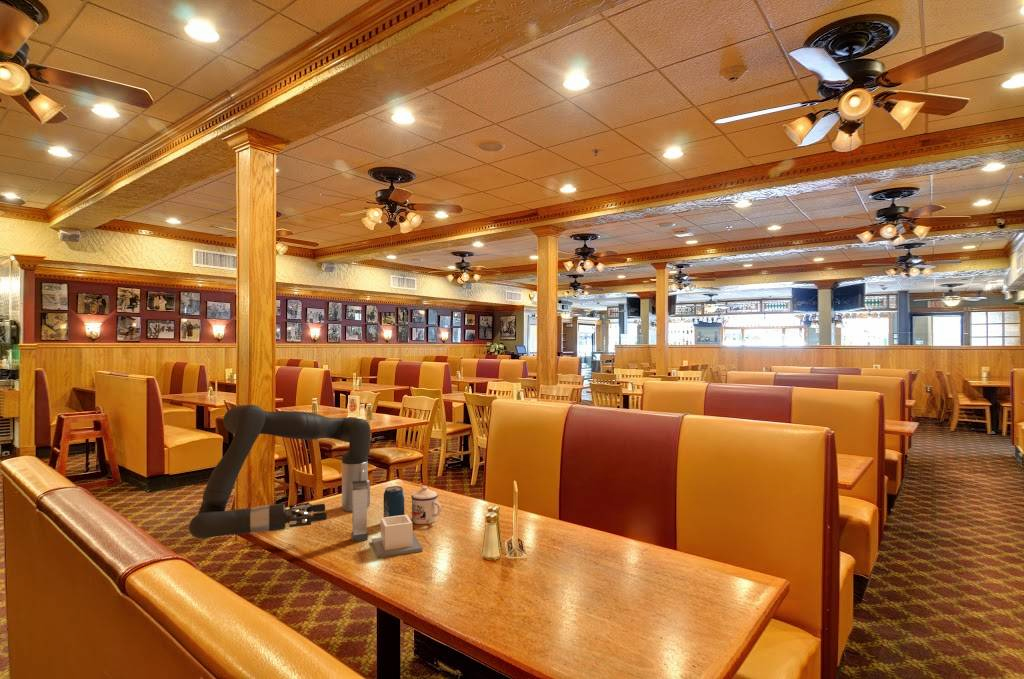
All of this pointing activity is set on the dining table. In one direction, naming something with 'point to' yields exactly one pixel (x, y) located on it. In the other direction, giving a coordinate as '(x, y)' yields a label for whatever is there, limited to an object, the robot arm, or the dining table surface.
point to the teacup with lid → (425, 506)
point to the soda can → (393, 501)
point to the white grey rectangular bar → (359, 511)
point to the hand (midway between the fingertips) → (325, 511)
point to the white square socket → (396, 537)
